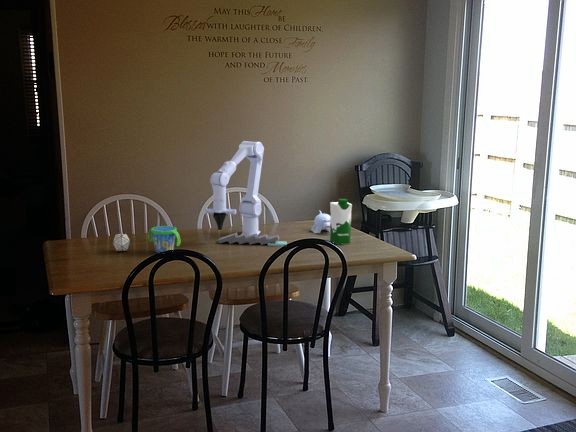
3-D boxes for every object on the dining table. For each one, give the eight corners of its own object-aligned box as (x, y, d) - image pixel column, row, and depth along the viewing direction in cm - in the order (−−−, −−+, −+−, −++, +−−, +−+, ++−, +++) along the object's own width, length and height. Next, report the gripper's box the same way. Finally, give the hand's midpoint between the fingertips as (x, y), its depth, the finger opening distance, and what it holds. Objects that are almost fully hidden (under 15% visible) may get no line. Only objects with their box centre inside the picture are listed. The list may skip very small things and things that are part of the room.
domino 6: (267, 243, 277) (285, 243, 276) (269, 240, 281) (287, 241, 280) (267, 246, 277) (285, 247, 276) (269, 244, 282) (287, 244, 281)
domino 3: (238, 241, 278) (254, 235, 276) (240, 238, 283) (256, 233, 281) (239, 244, 278) (255, 239, 277) (241, 241, 283) (258, 236, 281)
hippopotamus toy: (318, 235, 296) (318, 216, 294) (308, 229, 310) (309, 210, 309) (339, 234, 299) (340, 215, 297) (329, 228, 313) (329, 209, 311)
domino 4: (248, 241, 277) (265, 236, 276) (250, 238, 282) (267, 233, 281) (249, 244, 278) (266, 239, 276) (251, 242, 282) (268, 237, 281)
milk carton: (334, 245, 278) (335, 200, 274) (327, 240, 286) (328, 197, 282) (353, 243, 280) (354, 199, 277) (345, 239, 289) (346, 196, 285)
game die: (124, 260, 264) (124, 245, 257) (106, 252, 265) (106, 237, 258) (135, 246, 270) (136, 231, 263) (118, 238, 271) (118, 223, 264)
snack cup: (186, 251, 265) (186, 228, 263) (169, 257, 256) (168, 232, 254) (160, 246, 273) (159, 224, 271) (142, 251, 264) (141, 228, 262)
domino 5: (259, 241, 277) (277, 237, 276) (261, 239, 282) (278, 234, 280) (261, 245, 277) (278, 240, 276) (262, 242, 282) (279, 237, 281)
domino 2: (228, 240, 279) (244, 235, 277) (230, 238, 283) (246, 232, 282) (229, 244, 279) (245, 238, 277) (231, 241, 284) (248, 236, 282)
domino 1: (218, 240, 279) (234, 234, 278) (220, 237, 284) (236, 232, 283) (219, 243, 279) (235, 238, 278) (221, 241, 284) (238, 235, 283)
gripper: (201, 200, 275) (202, 230, 278) (233, 201, 273) (234, 231, 276) (205, 198, 282) (206, 227, 284) (237, 198, 280) (237, 228, 283)
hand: (220, 229), depth 281 cm, fingers closed
